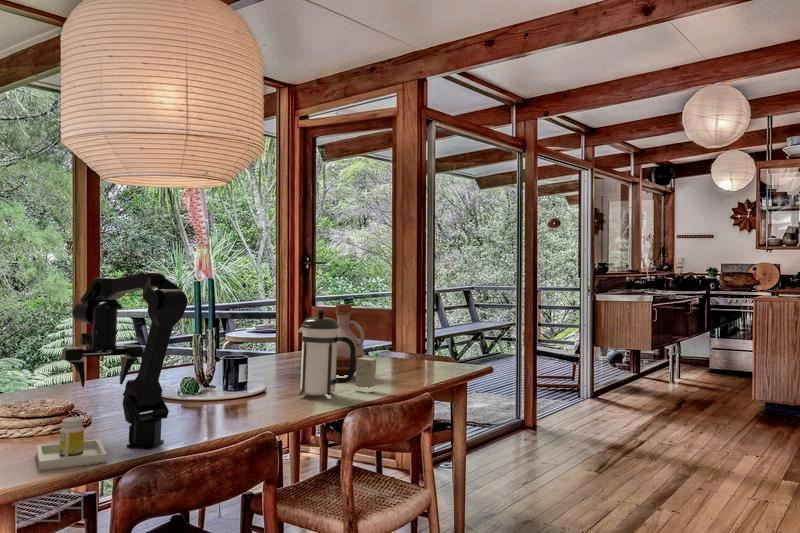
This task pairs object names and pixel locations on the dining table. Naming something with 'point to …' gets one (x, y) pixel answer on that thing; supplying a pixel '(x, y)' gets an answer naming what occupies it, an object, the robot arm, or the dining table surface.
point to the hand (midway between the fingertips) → (102, 385)
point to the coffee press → (322, 355)
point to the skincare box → (365, 372)
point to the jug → (343, 347)
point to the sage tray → (51, 459)
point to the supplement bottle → (71, 437)
